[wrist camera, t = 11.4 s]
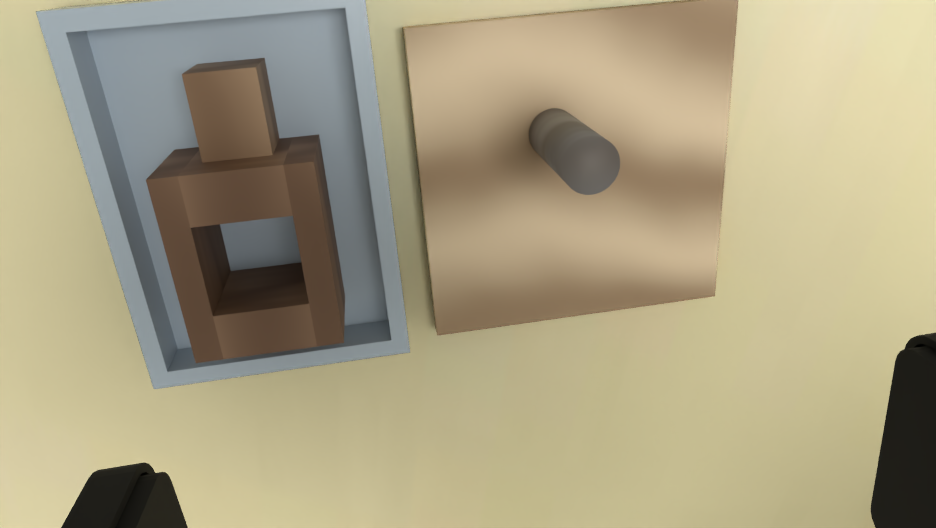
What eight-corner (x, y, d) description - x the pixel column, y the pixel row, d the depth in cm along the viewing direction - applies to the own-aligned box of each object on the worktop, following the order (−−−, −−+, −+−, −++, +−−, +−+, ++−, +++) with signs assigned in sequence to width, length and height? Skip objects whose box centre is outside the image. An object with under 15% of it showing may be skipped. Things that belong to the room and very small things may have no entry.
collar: (305, 54, 25) (298, 69, 22) (345, 296, 30) (344, 343, 26) (154, 68, 25) (120, 86, 21) (215, 312, 29) (195, 363, 25)
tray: (406, 325, 31) (410, 352, 29) (168, 358, 30) (153, 389, 28) (362, -19, 25) (363, -17, 23) (64, 7, 24) (35, 11, 22)
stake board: (706, 288, 33) (773, 350, 28) (435, 326, 32) (451, 400, 26) (728, -4, 28) (816, 4, 22) (402, 26, 26) (415, 43, 21)
